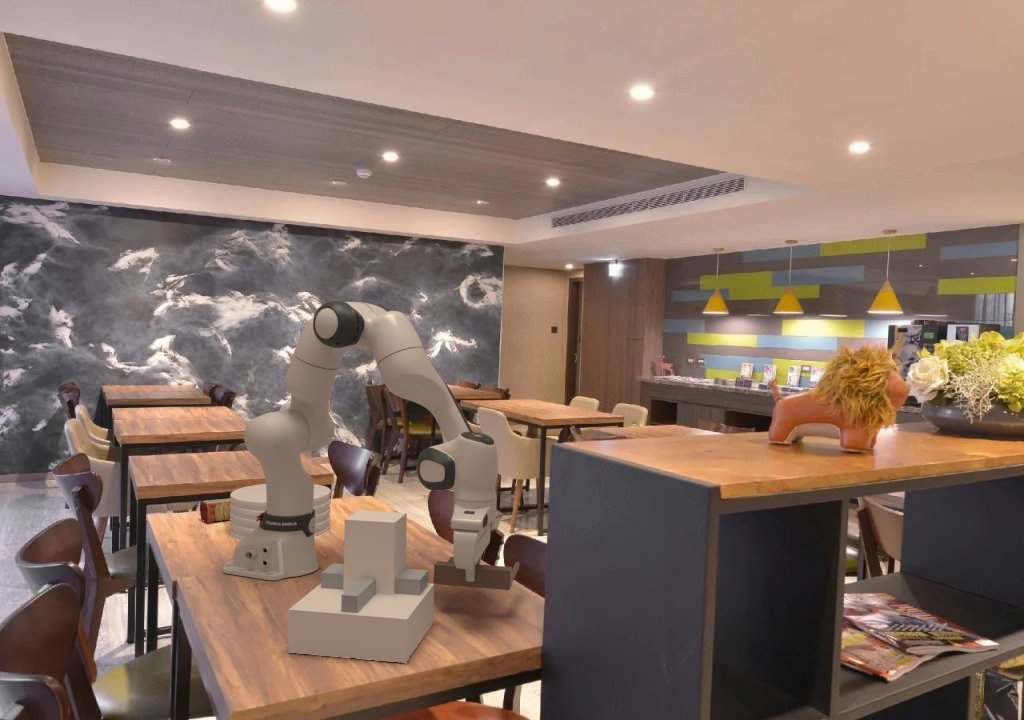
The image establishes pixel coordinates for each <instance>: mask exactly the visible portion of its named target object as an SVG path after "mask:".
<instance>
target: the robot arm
mask: <svg viewBox="0 0 1024 720" xmlns="http://www.w3.org/2000/svg"><path fill="white" fill-rule="evenodd" d="M347 350H351V351H352V350H353V351H360V350H370V351H371V353H372V356H373V357H374V361H375V363H376V366H377V369H378V371H379V374H380V377H381V379H382V382H383V383H384V384H385V386H386V388H387V389H388V390H389V391H390V392H391V393H392V394H393V395H394V396H397V397H399V398H401V399H404V400H407V401H410V402H413V403H415V404H418V405H419V406H422V407H423V408H425V409H426V410H427V411H429V413H430V414H432V416H433V417H434V419H435V420H436V423H437V424H438V426H439V428H440V430H441V432H442V434H443V436H444V439H445V440H446V442H444V443H441V444H435V445H433V446H429V447H427V448H425V449H423V450H422V451H421V453H420V454H418V455H419V456H418V457H417V461H416V475H417V478H418V480H419V483H420V484H421V485H422V486H423V487H424V488H426V489H427V490H429V491H436V492H441V491H447V490H448V491H449V490H450V491H452V492H453V508H452V509H453V513H452V516H451V519H450V528H451V529H453V536H452V537H453V539H452V540H453V557H454V562H455V566H456V568H459V569H465V571H466V581H470V582H473V581H474V580H475V578H476V571H475V565H476V564H479V565H481V560H482V555H483V553H484V552H485V550H486V549H487V547H488V545H489V544H490V541H491V524H492V523H494V522H496V520H497V493H496V483H497V480H498V474H499V473H498V449H497V444H496V443H495V442H496V441H495V440H494V438H492V437H491V436H489V435H488V434H486V433H481V432H476V431H474V430H472V428H471V426H470V424H469V422H468V420H467V419H466V416H465V414H464V413H463V410H462V409H461V407H460V405H459V403H458V401H457V400H456V398H455V396H454V394H453V392H452V391H451V389H450V387H449V386H448V384H447V383H446V381H444V379H443V378H442V377H441V375H439V374H438V372H437V371H436V369H435V367H434V366H433V363H432V362H431V360H430V359H429V357H428V353H427V352H426V350H425V347H424V345H423V342H422V340H421V338H420V336H419V334H418V332H417V330H416V328H415V327H414V325H413V323H412V322H411V320H410V319H409V317H408V316H407V315H406V314H404V313H403V312H402V311H398V310H390V309H389V308H387V307H385V306H383V305H380V304H373V303H370V302H369V303H368V302H363V301H343V300H332V301H327V302H325V303H323V304H322V305H320V306H319V307H318V308H317V309H316V311H315V313H314V316H313V317H311V318H310V319H309V321H308V322H307V324H306V325H305V327H304V329H303V331H302V333H301V334H300V337H299V339H298V341H297V344H296V346H295V348H294V351H293V353H292V356H291V359H290V363H289V366H288V369H287V372H286V374H285V377H284V381H283V382H284V386H285V389H286V390H287V391H288V392H289V394H290V404H289V406H288V408H287V409H286V410H281V411H271V412H266V413H264V414H260V415H259V416H257V417H255V418H252V419H251V420H249V422H248V423H247V425H246V426H245V428H244V432H243V441H244V444H245V445H244V446H245V447H246V449H247V451H248V452H249V453H250V455H252V456H253V457H255V458H256V459H257V461H258V462H259V464H260V466H261V468H262V469H261V470H262V472H263V474H264V478H265V479H264V480H265V484H266V510H265V512H263V513H262V514H260V516H257V517H256V518H258V519H257V520H256V521H259V520H260V524H259V527H258V528H256V529H255V530H254V531H252V532H251V533H250V534H249V535H247V536H246V537H245V538H243V539H242V540H241V541H240V540H239V542H237V544H236V546H235V549H234V551H233V554H232V555H233V556H232V559H230V560H229V561H227V562H226V563H225V564H224V565H223V567H222V573H223V574H228V575H235V576H238V577H239V576H241V577H247V578H251V579H252V578H253V579H259V580H266V581H278V580H283V579H285V578H292V577H293V578H294V577H299V576H304V575H309V574H311V573H313V572H316V571H317V570H319V569H320V563H319V560H318V556H317V550H316V544H315V538H314V533H315V510H314V509H313V501H314V484H315V482H314V481H315V480H314V478H313V477H312V475H311V474H310V473H308V472H307V471H305V469H304V466H303V464H302V460H301V454H306V453H310V452H314V451H317V450H319V449H321V448H323V447H324V446H326V445H328V444H329V443H330V442H331V441H332V440H333V438H334V435H335V430H336V429H335V422H334V420H333V418H332V416H331V414H330V411H329V410H330V409H329V406H330V405H329V404H330V402H329V401H330V395H331V392H332V389H333V385H334V383H335V381H336V377H337V374H338V371H339V369H340V365H341V363H342V359H343V356H344V354H345V352H346V351H347Z"/></svg>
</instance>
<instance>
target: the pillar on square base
mask: <svg viewBox="0 0 1024 720" xmlns="http://www.w3.org/2000/svg"><path fill="white" fill-rule="evenodd" d="M407 516H408V515H407V512H397V511H395V512H394V511H380V510H379V511H378V510H363V509H362V510H361V509H359V510H357V511H356V512H354V513H352V514H351V515H350V516H348V517H346V518H345V519H344V533H343V534H344V539H343V540H344V541H343V563H331V565H329V566H327V568H325V569H324V570H323V571H321V572H320V584H318V585H317V586H316V587H315V588H313V589H312V590H311V591H310V592H308V593H307V594H306V595H304V596H303V597H302V598H301V599H300V600H299V601H297V602H296V603H295V604H293V606H291V607H289V609H288V622H287V623H288V624H287V625H288V626H287V627H288V629H287V631H288V633H287V635H288V636H287V640H288V641H287V653H288V652H291V653H303V654H316V655H323V656H324V655H325V656H337V657H347V658H361V659H371V660H379V661H389V662H390V661H391V662H401V663H406V662H407V661H408V659H409V658H410V656H411V655H412V653H413V652H414V650H415V649H416V647H417V646H418V644H419V643H420V642H421V643H422V641H423V640H424V638H425V637H424V636H426V635H427V634H428V632H429V630H430V629H431V627H432V625H433V624H434V614H435V613H434V609H435V608H434V606H435V605H434V604H435V602H434V601H435V584H434V583H429V570H427V569H417V568H416V569H415V568H407V566H406V564H407V563H406V561H407V519H408V517H407ZM425 634H426V635H425ZM423 637H424V638H423ZM422 639H423V640H422ZM421 640H422V641H421ZM421 643H420V644H421ZM420 644H419V645H420ZM418 647H419V646H418ZM418 647H417V648H418ZM416 650H417V649H416ZM416 650H415V651H416ZM414 653H415V652H414ZM414 653H413V654H414ZM412 656H413V655H412ZM412 656H411V657H412ZM410 659H411V658H410ZM410 659H409V660H410ZM408 662H409V661H408ZM408 662H407V663H408Z"/></svg>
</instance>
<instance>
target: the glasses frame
mask: <svg viewBox="0 0 1024 720" xmlns="http://www.w3.org/2000/svg"><path fill="white" fill-rule="evenodd" d="M519 569H520V562H519V561H515V563H514V565H513V567H512V566H504V565H502V566H501V565H489V564H480V565H479V564H476V565H475V571H476V578H475V580H474V581H473V582H470V581H466V571H465V569H459V568H456V566H455V562H454V556H450V557H449V559H448V560H447V561H440V560H437V561H436V562H435V563H434V565H433V584H434V585H443V586H454V587H465V588H479V589H490V590H491V589H492V590H500V591H501V590H503V591H511V588H512V585H513V583H514V580H515V578H516V576H517V574H518V571H519Z"/></svg>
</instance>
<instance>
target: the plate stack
mask: <svg viewBox="0 0 1024 720" xmlns="http://www.w3.org/2000/svg"><path fill="white" fill-rule="evenodd" d="M331 492H332V491H331V488H329V487H328V486H325V485H321V484H317V483H316V484H315V483H314V501H313V509H314V510H315V533H314V537H315V536H319V535H321V534H323V533H325V532H326V531H328V530H329V529H331V523H330V522H331V506H330V505H331V502H332V501H331ZM229 498H230V499H231V503H230V508H231V511H230V518H231V520H229V526H230V528H229V536H230V537H231V536H232V537H231V538H233V539H235V538H236V539H235V540H237V539H239V540H238V541H240V540H242V539H243V538H245V537H246V536H247V535H249V534H250V533H251V532H252V531H254V530H255V529H256V528H258V527H259V524H260V520H259V521H256V520H257V519H258V518H256V517H257V516H260V514H262V513H263V512H265V510H266V483H261V484H254V485H248V486H244V487H240V488H237V489H234V490H233V491H232V492H231V493H230V497H229ZM329 531H330V530H329ZM329 531H328V532H329ZM319 537H320V536H319Z"/></svg>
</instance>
